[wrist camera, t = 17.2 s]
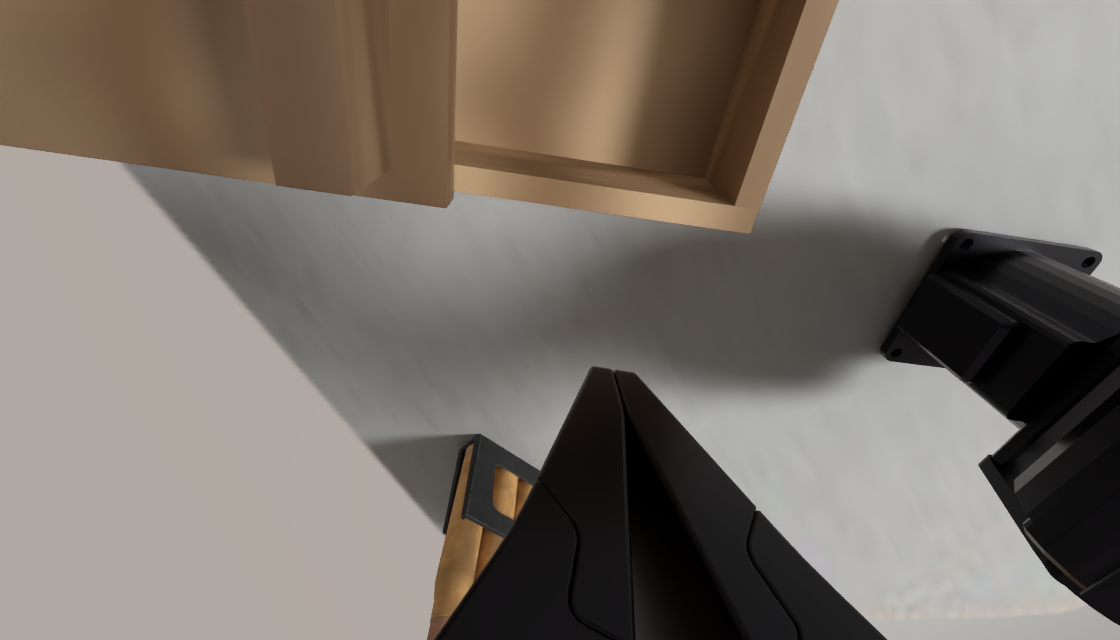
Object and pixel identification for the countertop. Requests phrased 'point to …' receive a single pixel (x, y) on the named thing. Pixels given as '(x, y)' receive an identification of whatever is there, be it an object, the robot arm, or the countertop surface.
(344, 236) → the countertop surface
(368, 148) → the lid
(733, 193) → the light brown wooden box
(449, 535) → the ammunition clip
